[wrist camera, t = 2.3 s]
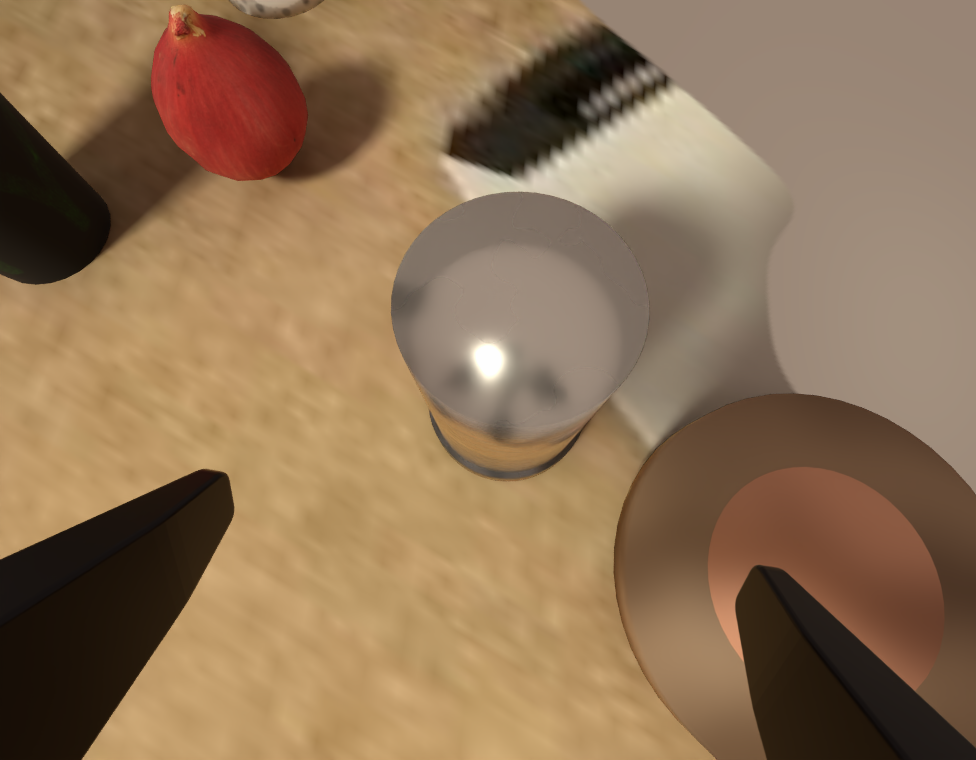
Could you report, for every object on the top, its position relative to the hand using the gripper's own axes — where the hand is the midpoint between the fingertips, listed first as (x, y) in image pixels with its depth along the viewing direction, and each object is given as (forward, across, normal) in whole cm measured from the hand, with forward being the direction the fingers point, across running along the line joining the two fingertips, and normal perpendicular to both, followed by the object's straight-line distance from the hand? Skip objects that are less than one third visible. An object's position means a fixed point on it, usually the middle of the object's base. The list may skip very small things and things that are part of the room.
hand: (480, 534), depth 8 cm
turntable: (+8, -11, +8) cm, 16 cm away
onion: (+19, +14, -2) cm, 24 cm away
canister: (+12, 0, +4) cm, 13 cm away
